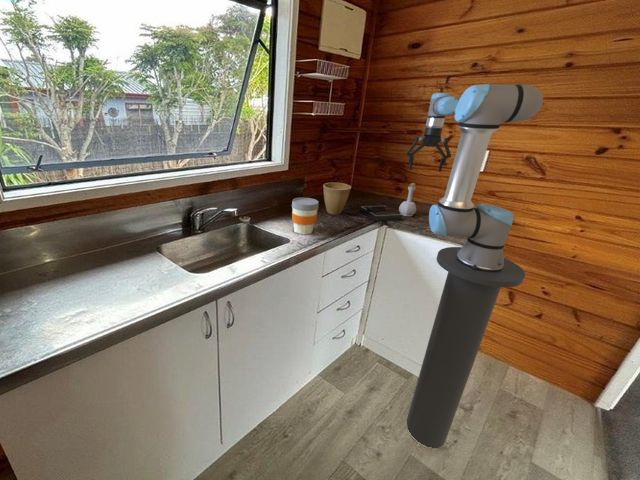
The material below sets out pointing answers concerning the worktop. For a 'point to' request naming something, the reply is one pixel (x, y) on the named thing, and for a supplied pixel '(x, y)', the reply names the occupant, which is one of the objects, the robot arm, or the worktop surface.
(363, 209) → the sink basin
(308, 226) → the reusable coffee cup
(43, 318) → the worktop surface
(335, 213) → the plant pot
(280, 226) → the worktop surface
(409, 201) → the potion bottle
